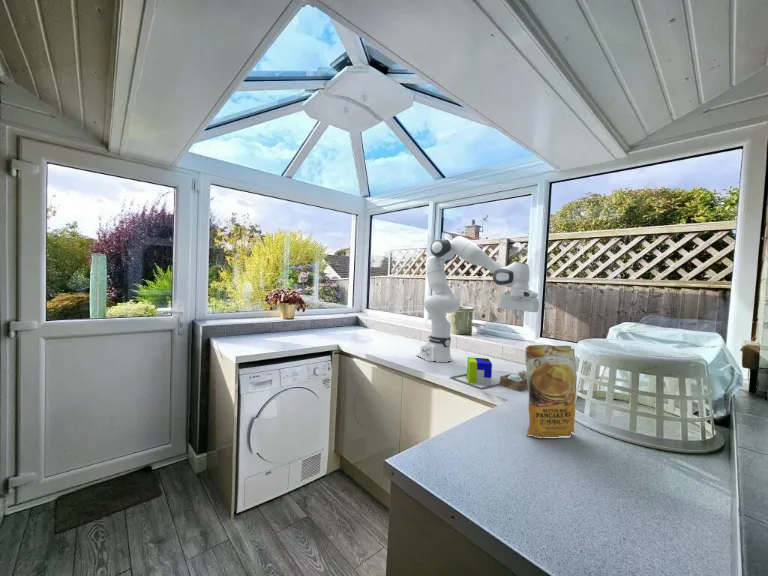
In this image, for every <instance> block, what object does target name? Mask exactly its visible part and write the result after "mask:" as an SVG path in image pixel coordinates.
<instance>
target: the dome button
mask: <svg viewBox="0 0 768 576" xmlns="http://www.w3.org/2000/svg"><path fill="white" fill-rule="evenodd" d="M508 378H509V379H512V380H516V381H520V380H522V378H520V376H518V374H514V375H510V376H508Z"/></svg>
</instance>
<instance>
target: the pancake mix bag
mask: <svg viewBox="0 0 768 576" xmlns="http://www.w3.org/2000/svg"><path fill="white" fill-rule="evenodd" d="M525 367H526V369H525V370H526V372H527V386H528V389H527V391H528V414H529V424H528V429H527V431H526V436H527V435H533V436H536V437H542V438H543V437H559V436H570V435H572V433H571V432H574V433H575V421H576V420H575V419H576V418H575V417H576V401H577V390H578V389H577V388H578V387H577V379H578V377H577V367H576V356H575V350H574V348H572V346H571V345H550V344H549V345H548V344H546V345H545V344H544V345H543V344H542V345H541V344H535V345H534V344H532V345H528V346H527V347H525ZM572 436H573V435H572Z"/></svg>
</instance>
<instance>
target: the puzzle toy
mask: <svg viewBox="0 0 768 576" xmlns="http://www.w3.org/2000/svg"><path fill="white" fill-rule="evenodd" d="M466 365H467V366H466V373H467V375H466V378H467V379H466V380H467V383H470V384H473V385H474V384H475V385H476V384H478V385H484V386H485V385H486V386H489V385H492V375H493V373H492V370H493V362H492V361H491V360H490V359H489V358H485V357H483V358H482V357H473V356H472V357H471V356H470V357H469V356H467V363H466Z"/></svg>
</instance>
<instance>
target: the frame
mask: <svg viewBox="0 0 768 576" xmlns="http://www.w3.org/2000/svg"><path fill="white" fill-rule="evenodd" d="M465 376H467V372H465V373H462V374H458V375H452V376H449V377H450V378H452V379H451V380H454V381H457V382H460V383H461V384H465V385H467V386H469V387H473V388H474V389H475V388H476V389H478V390H480V391H481V390H486V389H490V388H493V387H496V386H501V385H500V384H499V382H497V383H494V384H491V385H486V386H485V385H484V386H478V385H476V384H475V385H474V384H473V383H469V382H468V381H464V380H461V379H458V378H459V377H465ZM455 377H456V378H455ZM450 378H449V379H450Z"/></svg>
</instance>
